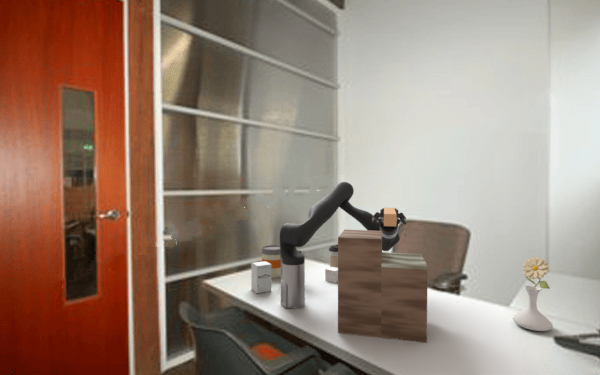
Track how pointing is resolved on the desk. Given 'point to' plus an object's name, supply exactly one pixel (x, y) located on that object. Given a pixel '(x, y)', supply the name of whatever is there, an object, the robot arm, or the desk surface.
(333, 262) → the coffee cup
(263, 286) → the supplement box
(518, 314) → the flower in vase
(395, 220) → the terracotta bar
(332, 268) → the white cube
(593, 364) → the desk surface
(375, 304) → the stepped stand
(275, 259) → the reusable coffee cup
